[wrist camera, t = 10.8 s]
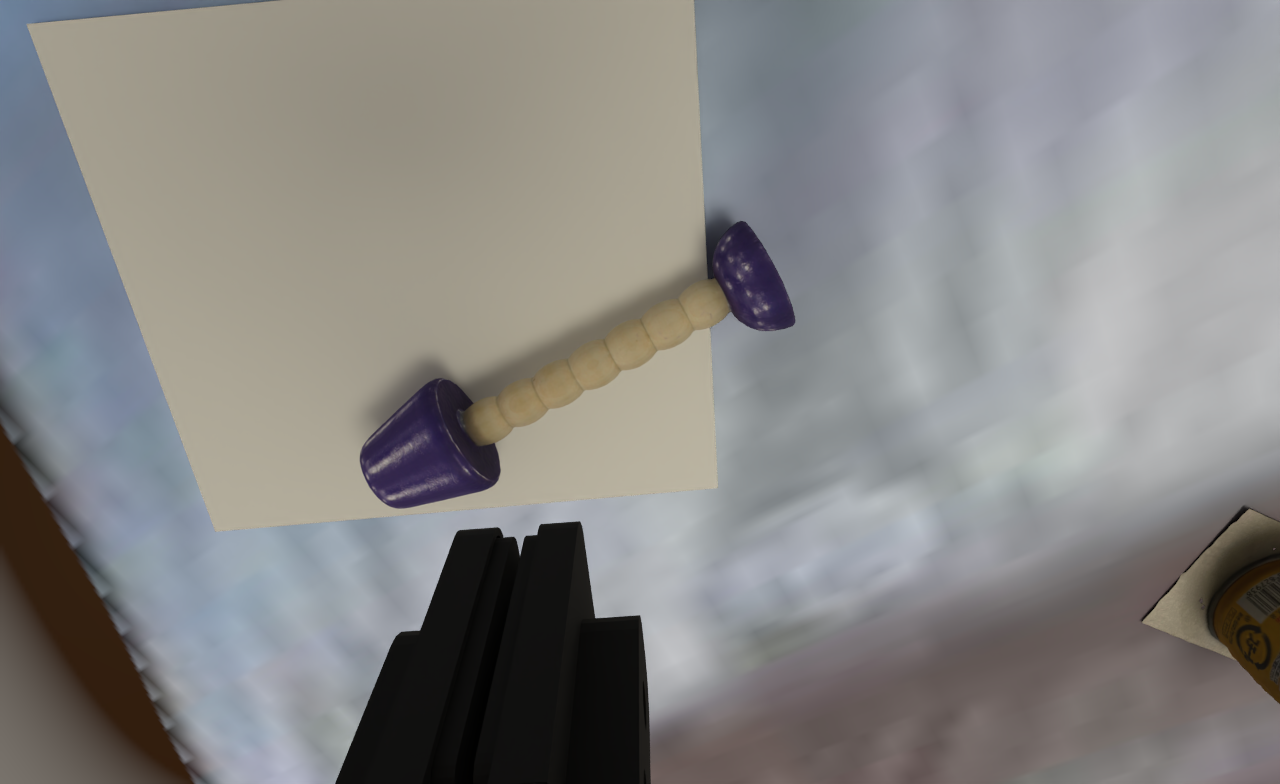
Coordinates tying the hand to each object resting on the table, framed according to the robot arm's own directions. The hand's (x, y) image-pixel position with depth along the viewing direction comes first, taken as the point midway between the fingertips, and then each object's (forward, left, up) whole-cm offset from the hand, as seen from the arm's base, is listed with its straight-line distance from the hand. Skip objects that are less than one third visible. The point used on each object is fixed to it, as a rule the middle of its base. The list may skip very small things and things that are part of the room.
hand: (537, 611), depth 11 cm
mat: (0, -6, -20) cm, 21 cm away
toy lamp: (+1, +7, -19) cm, 20 cm away
